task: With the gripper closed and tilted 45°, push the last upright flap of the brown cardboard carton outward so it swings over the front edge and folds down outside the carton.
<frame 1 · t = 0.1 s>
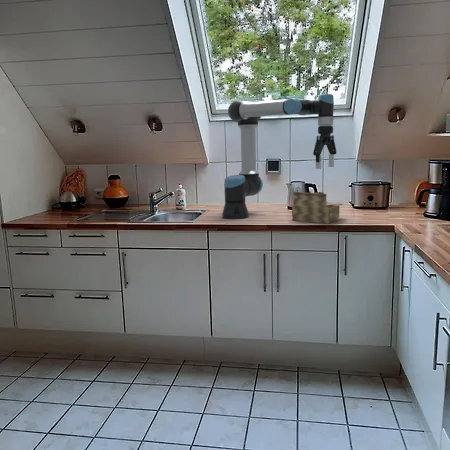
hand: (324, 167, 231), 28 cm above the countertop, tool pointing down, fingers open, 13 cm apart
flap: (309, 199, 232), point 12 cm above the countertop, hinge at 0.0°
medicine bottle: (318, 213, 263), on the countertop
carton: (315, 220, 239), on the countertop
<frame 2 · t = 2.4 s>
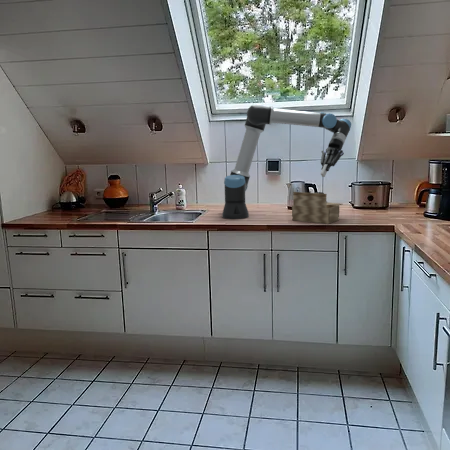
hand: (322, 175, 240), 24 cm above the countertop, tool tilted 45°, fingers closed
nothing on the countertop moved.
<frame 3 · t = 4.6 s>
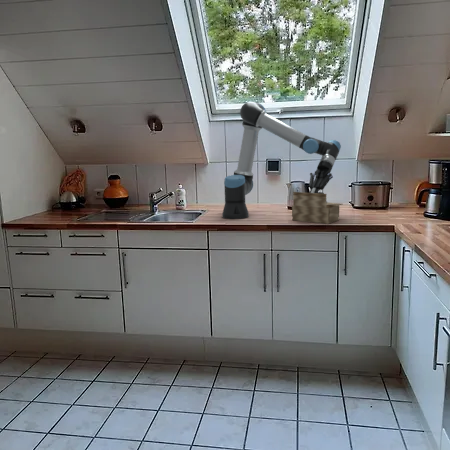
hand: (310, 199, 233), 12 cm above the countertop, tool tilted 45°, fingers closed
flap: (309, 199, 232), point 12 cm above the countertop, hinge at 0.3°, touching gripper
everything else where it was.
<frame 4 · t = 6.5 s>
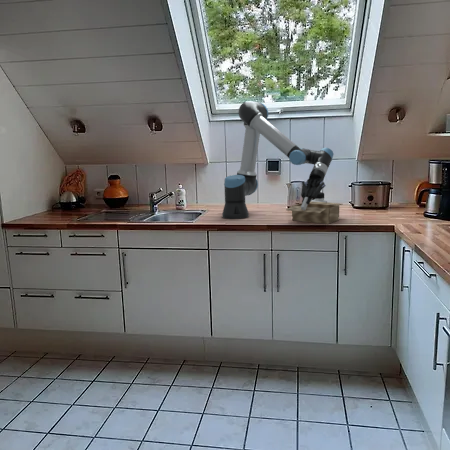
hand: (303, 208, 227), 8 cm above the countertop, tool tilted 45°, fingers closed
flap: (305, 209, 230), point 7 cm above the countertop, hinge at 99.1°, touching gripper
everything else where it was.
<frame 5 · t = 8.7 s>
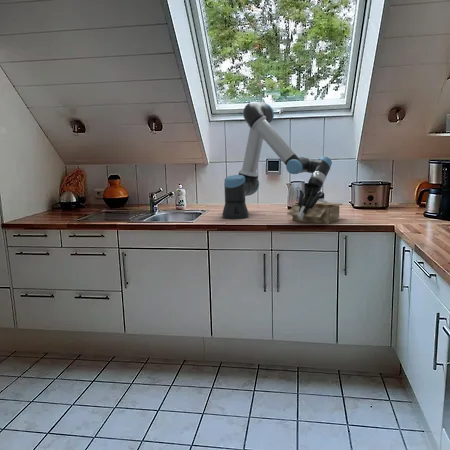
hand: (299, 217, 226), 4 cm above the countertop, tool tilted 45°, fingers closed
flap: (306, 211, 231), point 6 cm above the countertop, hinge at 118.0°
everything else where it was.
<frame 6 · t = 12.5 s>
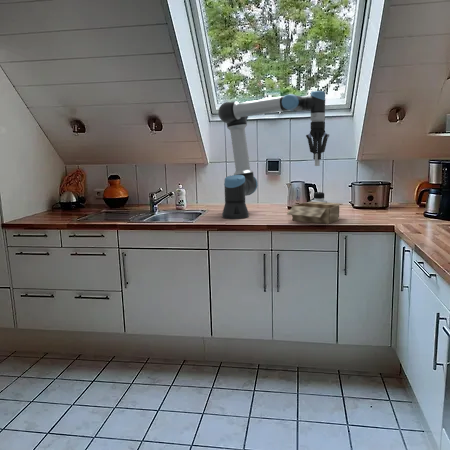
hand: (317, 165, 243), 28 cm above the countertop, tool pointing down, fingers closed
nothing on the countertop moved.
at the end: flap at +118° (first picture: +0°) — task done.
